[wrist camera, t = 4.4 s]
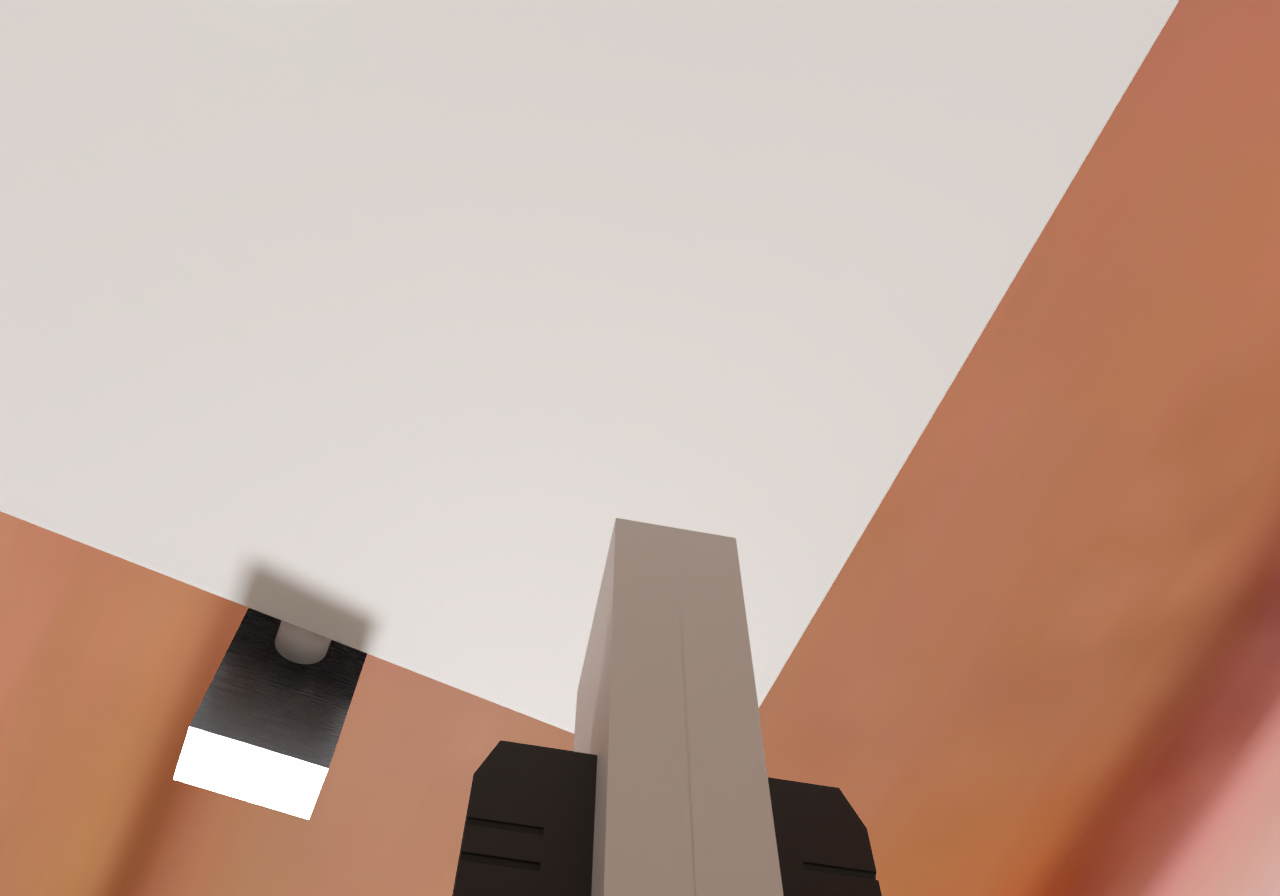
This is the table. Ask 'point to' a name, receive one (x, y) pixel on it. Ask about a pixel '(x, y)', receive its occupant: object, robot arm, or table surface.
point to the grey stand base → (269, 721)
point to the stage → (510, 290)
